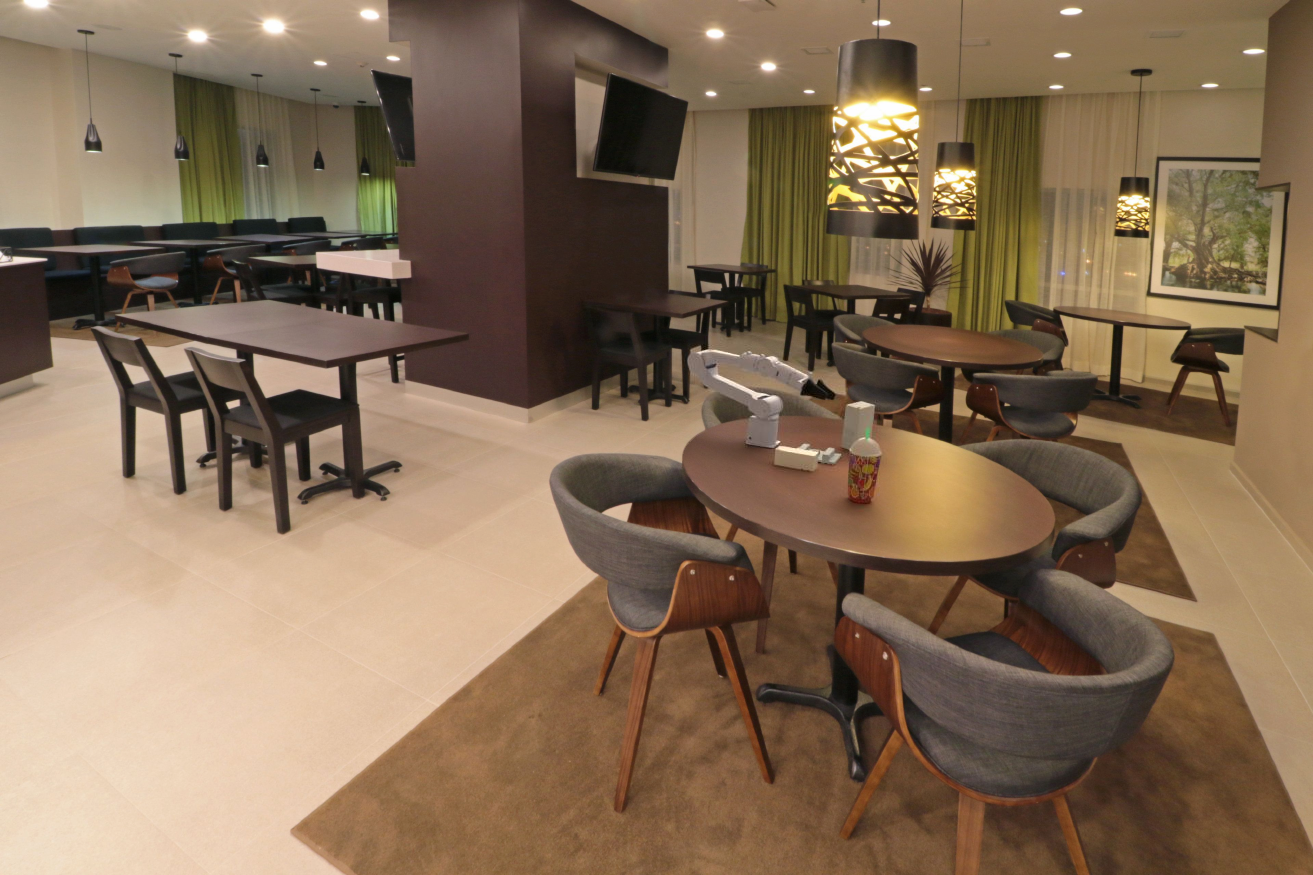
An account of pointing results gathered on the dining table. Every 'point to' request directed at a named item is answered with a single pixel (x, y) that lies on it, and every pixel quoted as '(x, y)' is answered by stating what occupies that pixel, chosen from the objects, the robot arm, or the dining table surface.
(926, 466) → the dining table surface
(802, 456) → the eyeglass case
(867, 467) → the smoothie
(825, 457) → the display stand
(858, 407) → the skincare box
